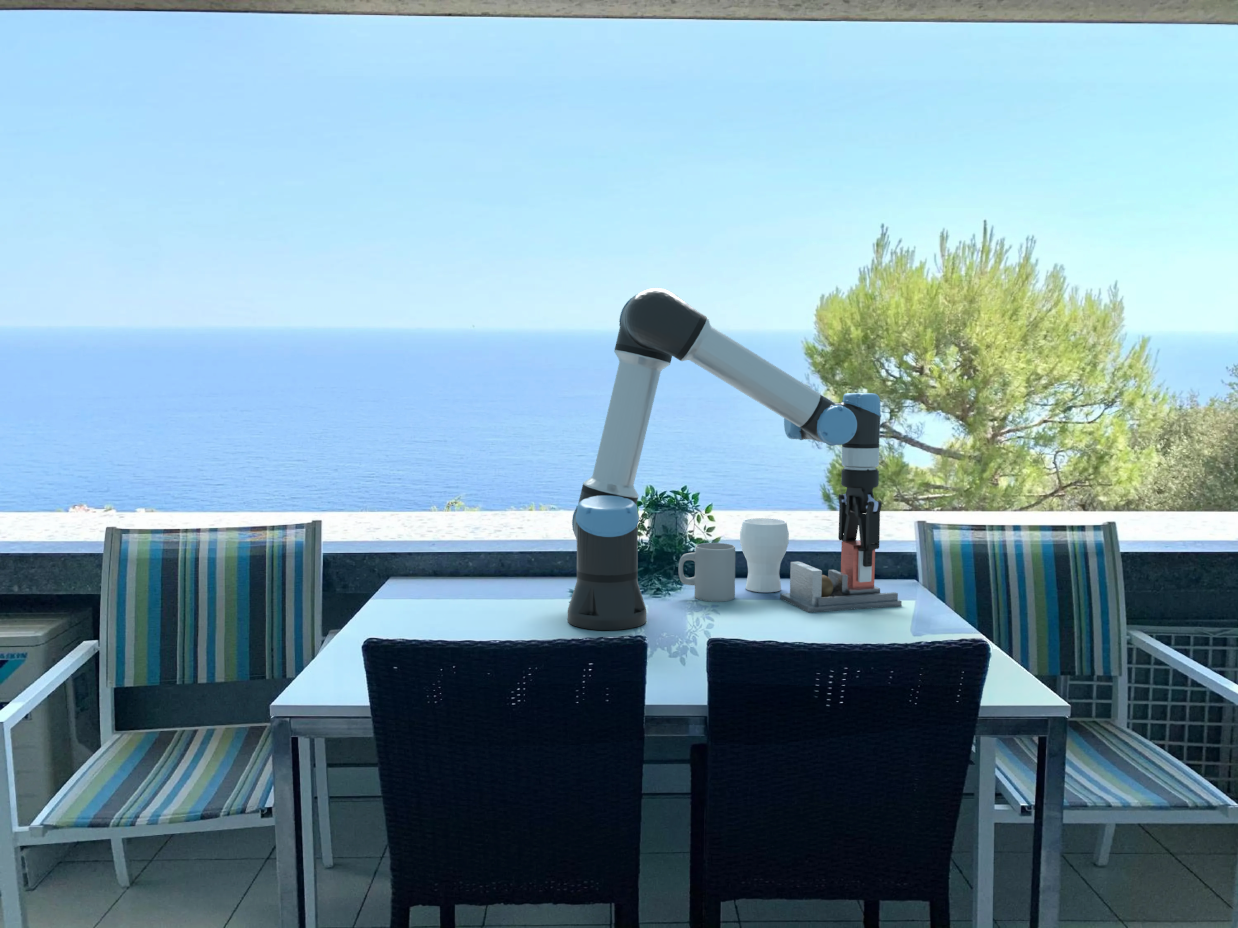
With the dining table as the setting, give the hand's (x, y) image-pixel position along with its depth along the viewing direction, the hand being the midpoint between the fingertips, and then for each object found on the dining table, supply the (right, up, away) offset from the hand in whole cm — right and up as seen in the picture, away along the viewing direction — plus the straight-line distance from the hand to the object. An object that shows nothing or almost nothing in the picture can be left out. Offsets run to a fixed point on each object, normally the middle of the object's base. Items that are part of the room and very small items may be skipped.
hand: (857, 578), depth 214 cm
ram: (-1, -3, 0) cm, 4 cm away
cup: (-18, -4, +12) cm, 22 cm away
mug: (-31, -5, +4) cm, 32 cm away
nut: (-8, -5, -2) cm, 10 cm away
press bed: (-4, -5, -1) cm, 6 cm away
